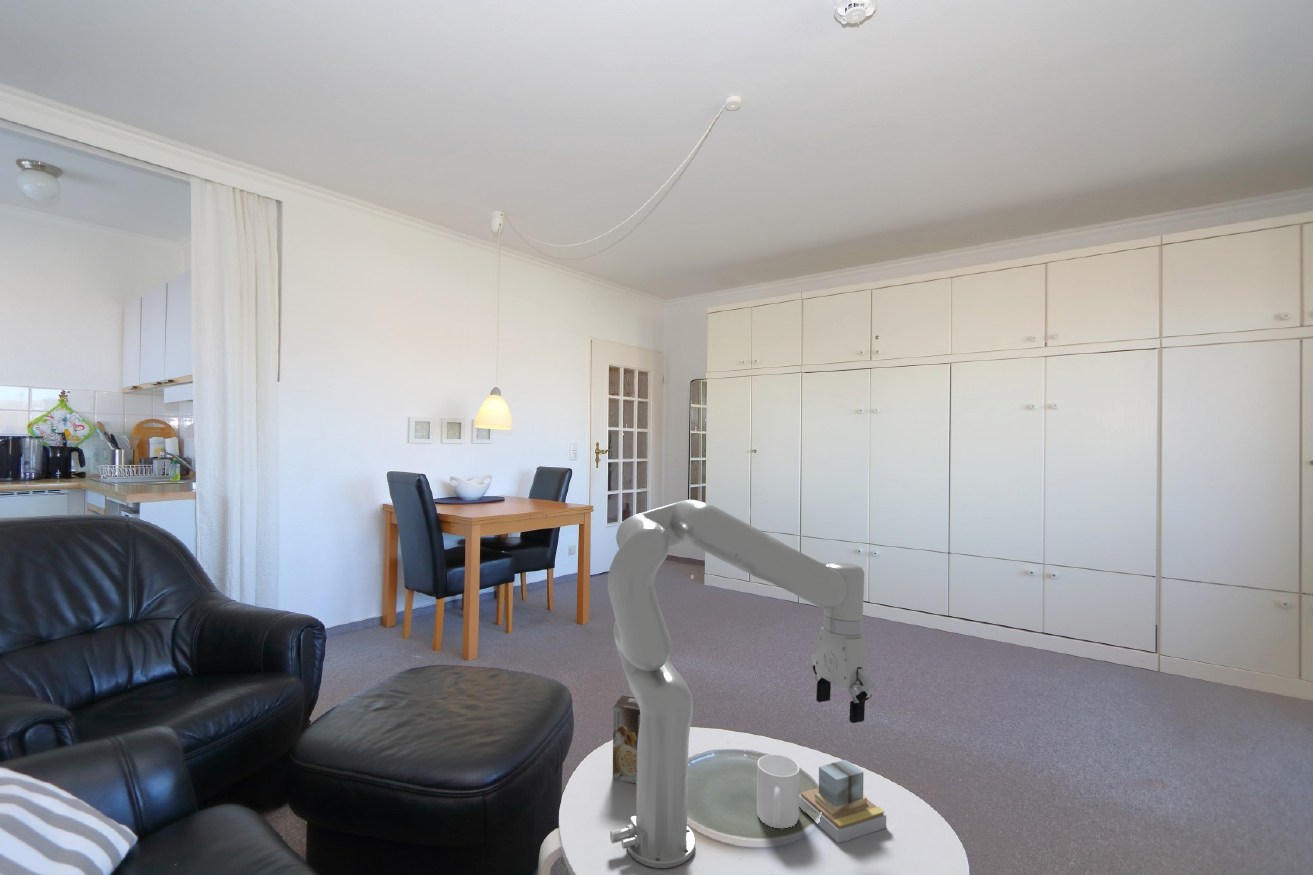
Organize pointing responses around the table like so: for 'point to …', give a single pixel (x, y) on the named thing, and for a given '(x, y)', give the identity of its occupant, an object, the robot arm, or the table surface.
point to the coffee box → (625, 739)
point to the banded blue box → (840, 787)
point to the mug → (778, 791)
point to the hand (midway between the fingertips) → (839, 710)
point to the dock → (845, 818)
